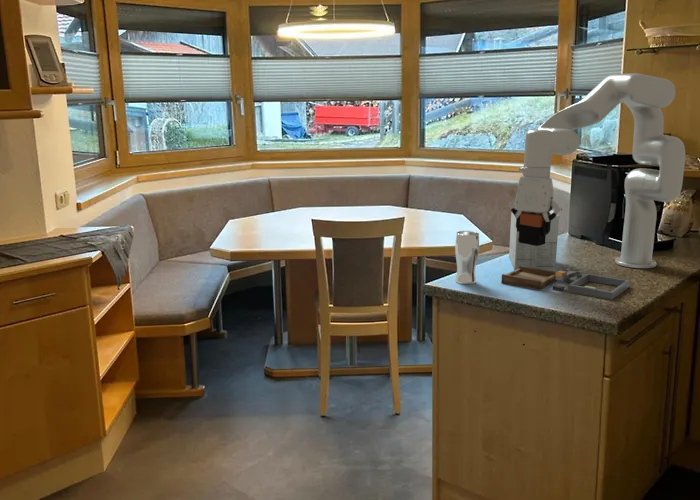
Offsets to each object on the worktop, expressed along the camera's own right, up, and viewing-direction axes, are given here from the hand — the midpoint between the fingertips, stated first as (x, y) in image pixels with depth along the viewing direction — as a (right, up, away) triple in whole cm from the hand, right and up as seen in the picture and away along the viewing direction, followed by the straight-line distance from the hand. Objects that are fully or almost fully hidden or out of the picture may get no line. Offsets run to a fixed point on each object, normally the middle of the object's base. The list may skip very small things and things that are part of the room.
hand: (532, 232), depth 199 cm
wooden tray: (0, -15, +3) cm, 15 cm away
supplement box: (+6, -10, +24) cm, 27 cm away
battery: (0, -3, +1) cm, 4 cm away
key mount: (+10, -16, 0) cm, 19 cm away
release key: (+10, -13, -1) cm, 16 cm away
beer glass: (-19, -15, +3) cm, 25 cm away
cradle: (+18, -17, -4) cm, 25 cm away
